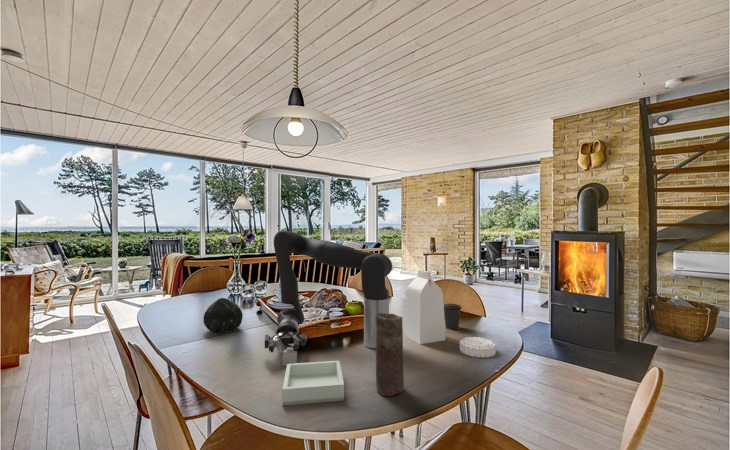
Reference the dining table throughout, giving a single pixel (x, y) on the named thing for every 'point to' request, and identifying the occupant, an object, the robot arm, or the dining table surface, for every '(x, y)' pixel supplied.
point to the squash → (223, 316)
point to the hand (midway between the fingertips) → (283, 348)
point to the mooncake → (477, 347)
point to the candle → (389, 354)
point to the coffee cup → (452, 316)
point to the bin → (313, 383)
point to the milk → (424, 310)
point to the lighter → (286, 353)
